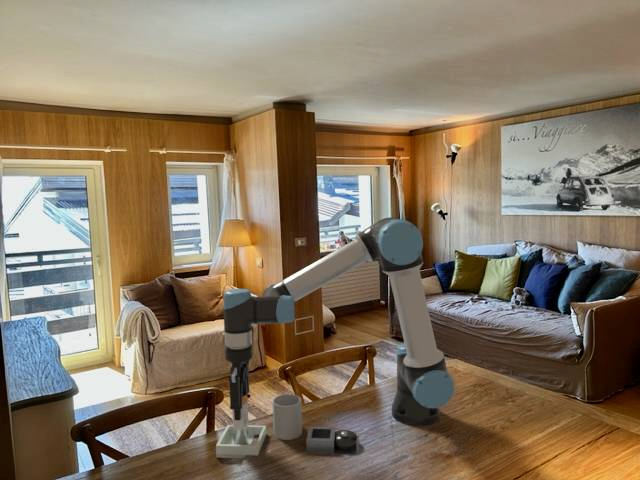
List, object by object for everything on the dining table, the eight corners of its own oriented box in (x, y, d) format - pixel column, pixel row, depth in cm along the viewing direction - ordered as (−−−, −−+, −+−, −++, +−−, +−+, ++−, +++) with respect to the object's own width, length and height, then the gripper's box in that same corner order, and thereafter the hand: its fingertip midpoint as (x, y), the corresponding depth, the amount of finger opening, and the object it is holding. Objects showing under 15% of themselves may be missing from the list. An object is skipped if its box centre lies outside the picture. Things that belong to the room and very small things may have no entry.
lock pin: (250, 440, 138) (248, 393, 137) (246, 448, 134) (245, 400, 132) (235, 439, 139) (233, 393, 137) (230, 448, 134) (228, 400, 133)
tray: (266, 436, 142) (266, 425, 141) (258, 458, 130) (257, 446, 130) (228, 435, 143) (227, 424, 142) (216, 457, 131) (215, 445, 131)
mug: (301, 442, 138) (300, 406, 137) (272, 443, 138) (270, 406, 137) (303, 422, 150) (302, 389, 149) (276, 423, 150) (275, 389, 149)
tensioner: (358, 438, 140) (358, 424, 139) (358, 458, 130) (358, 442, 129) (310, 437, 141) (309, 423, 140) (306, 456, 131) (305, 441, 131)
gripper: (233, 335, 142) (236, 410, 145) (215, 355, 125) (219, 440, 128) (258, 335, 142) (260, 411, 144) (244, 356, 124) (246, 441, 127)
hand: (241, 424), depth 136 cm, fingers open, 4 cm apart
